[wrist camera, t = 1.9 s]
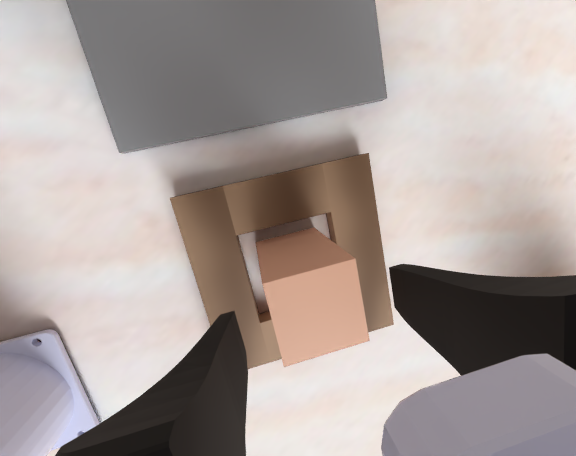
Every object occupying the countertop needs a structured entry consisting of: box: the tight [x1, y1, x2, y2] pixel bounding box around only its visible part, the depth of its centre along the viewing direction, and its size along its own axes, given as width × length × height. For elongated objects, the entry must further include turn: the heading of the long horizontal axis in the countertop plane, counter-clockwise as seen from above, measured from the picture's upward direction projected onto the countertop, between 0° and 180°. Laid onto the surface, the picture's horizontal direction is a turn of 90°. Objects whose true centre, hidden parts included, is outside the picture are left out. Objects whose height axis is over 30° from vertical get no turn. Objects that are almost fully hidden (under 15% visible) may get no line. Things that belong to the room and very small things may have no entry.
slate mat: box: [66, 0, 387, 153], centre depth 15 cm, size 16×10×1 cm, turn 102°
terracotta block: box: [256, 228, 370, 367], centre depth 15 cm, size 4×4×7 cm
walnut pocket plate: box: [170, 153, 394, 369], centre depth 18 cm, size 12×12×1 cm
